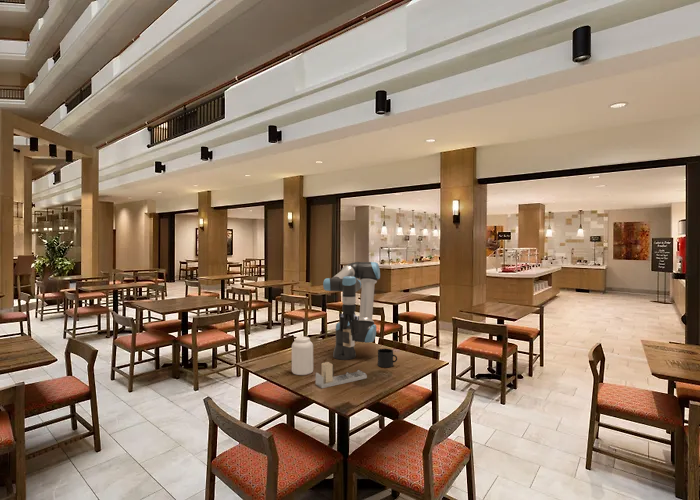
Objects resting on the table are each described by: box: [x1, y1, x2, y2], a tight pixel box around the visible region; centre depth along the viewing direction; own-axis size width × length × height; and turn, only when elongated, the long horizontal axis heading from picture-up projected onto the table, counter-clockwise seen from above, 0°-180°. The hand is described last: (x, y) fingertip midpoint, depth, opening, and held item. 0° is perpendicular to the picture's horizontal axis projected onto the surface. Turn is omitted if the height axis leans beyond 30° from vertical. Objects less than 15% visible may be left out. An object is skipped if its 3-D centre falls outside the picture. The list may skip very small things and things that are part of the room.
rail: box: [315, 361, 368, 389], centre depth 202 cm, size 7×28×11 cm, turn 121°
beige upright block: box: [343, 329, 352, 347], centre depth 209 cm, size 5×5×9 cm
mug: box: [377, 348, 398, 369], centre depth 228 cm, size 9×12×9 cm
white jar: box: [291, 336, 314, 376], centre depth 217 cm, size 12×12×20 cm
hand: (348, 345), depth 209 cm, fingers closed on beige upright block, 5 cm apart
